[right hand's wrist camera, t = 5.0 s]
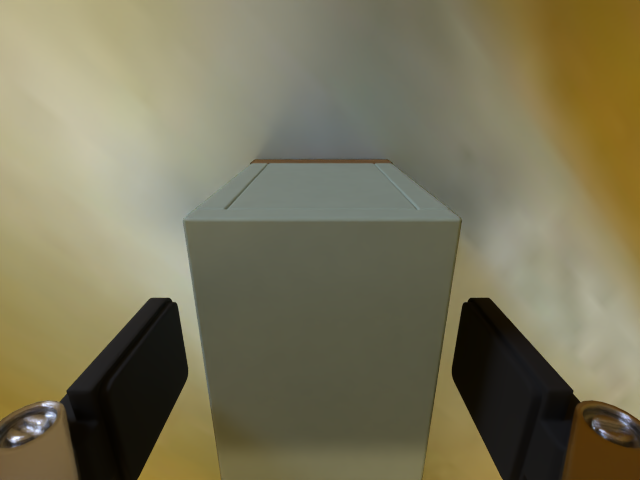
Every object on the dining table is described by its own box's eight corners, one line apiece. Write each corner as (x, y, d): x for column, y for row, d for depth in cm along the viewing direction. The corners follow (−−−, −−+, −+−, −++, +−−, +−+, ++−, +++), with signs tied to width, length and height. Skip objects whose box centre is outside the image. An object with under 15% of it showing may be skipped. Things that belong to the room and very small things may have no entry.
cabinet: (365, 480, 23) (391, 687, 15) (275, 479, 23) (251, 686, 15) (387, 159, 15) (464, 217, 7) (254, 159, 15) (180, 217, 7)
